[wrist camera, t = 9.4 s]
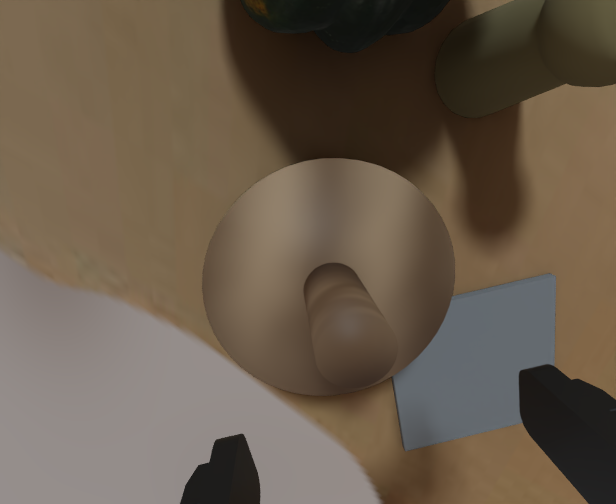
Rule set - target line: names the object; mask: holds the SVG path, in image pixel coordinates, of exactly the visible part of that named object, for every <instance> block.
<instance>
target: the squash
mask: <svg viewBox="0 0 616 504" xmlns="http://www.w3.org/2000/svg"><path fill="white" fill-rule="evenodd" d="M448 2H449V0H241V3H242V5H243V7H244V9H245V10H246V12H247V13H248V14H249V16H250V17H251V18H252V19H253V20H254V21H256V22H257V23H259V24H260V25H262V26H263V27H265V28H266V29H268V30H270V31H273V32H279V33H306V32H310V31H314V32H315V33H316V34H317V36H318V37H319V38H320V39H321V40H322V41H323V42H324V43H325V44H326V45H327V46H329V47H330V48H332V49H333V50H336V51H340V52H345V53H354V52H358V51H360V50H362V49H365V48H367V47H368V46H370V45H371V44H373V43H375V42H376V41H378V40H379V39H380V38H382V37H383V36H384V35H394V34H401V33H408V32H412V31H414V30H416V29H418V28H420V27H422V26H424V25H425V24H427V23H429V22H430V21H431V20H432V19H433V18H434V17H436V16H437V15H438V14H439V13H440V12H441V11H442V9H443V8H444V7H445V5H446V4H447V3H448Z"/></svg>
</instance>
